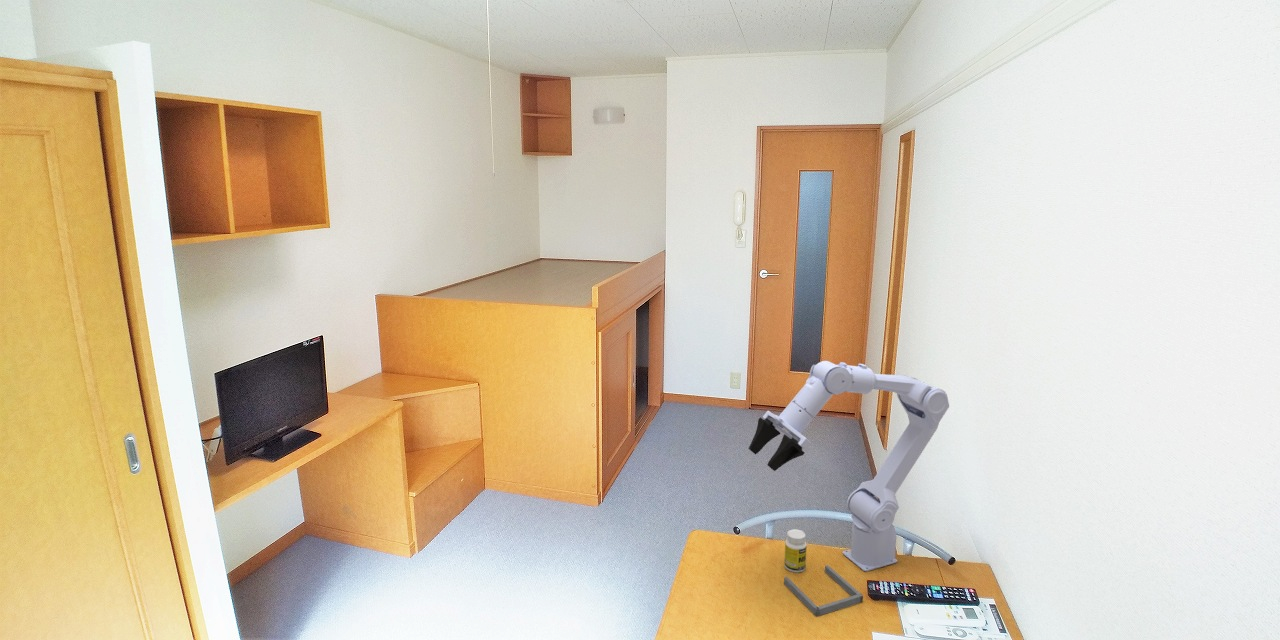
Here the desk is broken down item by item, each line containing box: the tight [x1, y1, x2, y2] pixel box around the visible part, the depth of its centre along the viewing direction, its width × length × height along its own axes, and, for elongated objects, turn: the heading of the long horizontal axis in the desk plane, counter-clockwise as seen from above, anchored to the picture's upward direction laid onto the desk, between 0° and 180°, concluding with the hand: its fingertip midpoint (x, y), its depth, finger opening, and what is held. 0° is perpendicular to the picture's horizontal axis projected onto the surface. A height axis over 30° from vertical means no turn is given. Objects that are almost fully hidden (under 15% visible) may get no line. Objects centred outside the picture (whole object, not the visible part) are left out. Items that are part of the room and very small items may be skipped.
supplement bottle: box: [783, 528, 808, 573], centre depth 144 cm, size 5×5×8 cm
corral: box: [783, 564, 864, 618], centre depth 135 cm, size 12×12×2 cm
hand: (761, 459), depth 133 cm, fingers open, 7 cm apart
